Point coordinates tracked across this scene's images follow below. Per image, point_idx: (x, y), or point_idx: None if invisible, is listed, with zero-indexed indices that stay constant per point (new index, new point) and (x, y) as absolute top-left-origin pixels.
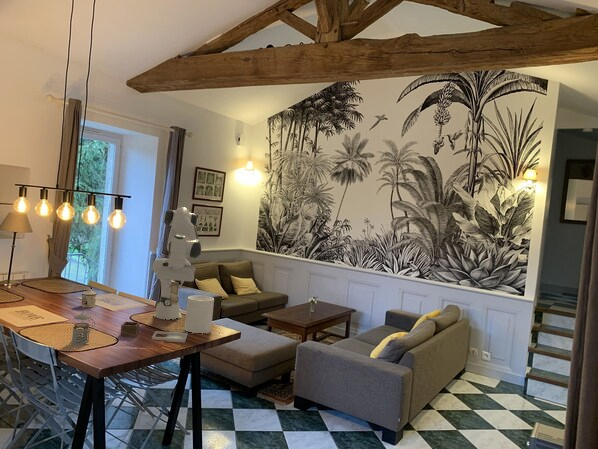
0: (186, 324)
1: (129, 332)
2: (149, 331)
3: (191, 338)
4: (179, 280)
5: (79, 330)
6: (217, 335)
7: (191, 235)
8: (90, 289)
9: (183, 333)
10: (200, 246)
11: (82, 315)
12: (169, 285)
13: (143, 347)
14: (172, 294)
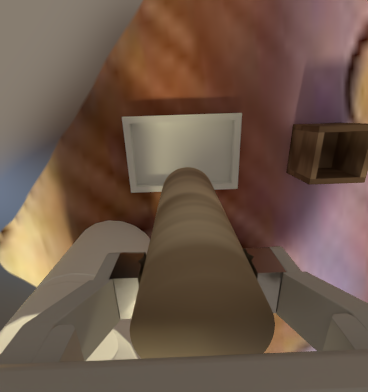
0: (145, 250)
1: (326, 124)
2: (255, 211)
3: (114, 169)
4: (81, 363)
5: None
6: (43, 219)
7: None
8: None
9: (143, 186)
10: None
11: None
12: (281, 264)
13: (257, 20)
14: (202, 192)
